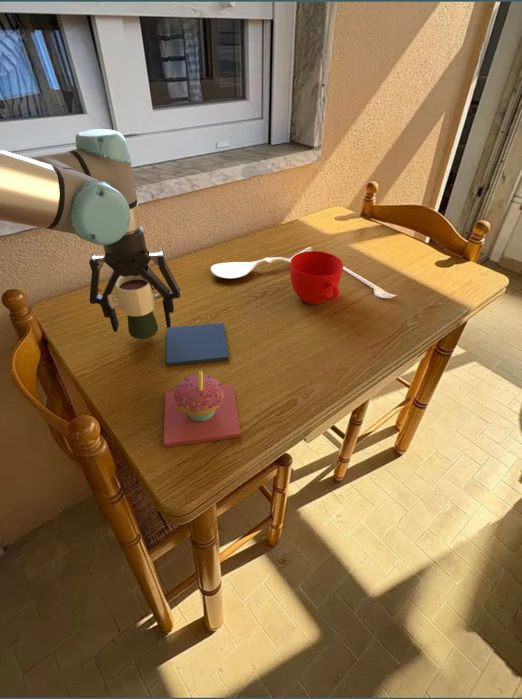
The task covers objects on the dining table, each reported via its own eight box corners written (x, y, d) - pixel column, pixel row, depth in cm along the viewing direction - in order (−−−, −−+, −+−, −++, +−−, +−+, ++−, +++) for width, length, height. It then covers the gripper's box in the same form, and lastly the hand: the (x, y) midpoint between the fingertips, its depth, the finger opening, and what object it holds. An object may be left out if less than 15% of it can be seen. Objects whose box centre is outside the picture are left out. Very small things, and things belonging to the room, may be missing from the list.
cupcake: (233, 414, 68) (231, 365, 61) (193, 439, 64) (185, 390, 56) (207, 387, 73) (202, 339, 66) (168, 408, 69) (157, 360, 61)
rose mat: (164, 447, 64) (163, 443, 63) (165, 394, 73) (165, 391, 72) (240, 437, 66) (240, 433, 65) (233, 387, 75) (232, 383, 74)
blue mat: (166, 366, 79) (165, 363, 78) (167, 331, 88) (167, 327, 87) (228, 360, 81) (228, 356, 80) (223, 326, 90) (223, 322, 89)
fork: (346, 267, 112) (347, 262, 110) (397, 300, 99) (399, 294, 98) (337, 270, 110) (338, 264, 109) (388, 304, 98) (390, 297, 96)
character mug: (164, 318, 89) (155, 268, 80) (172, 335, 84) (164, 284, 75) (116, 329, 85) (101, 278, 77) (122, 348, 80) (107, 296, 72)
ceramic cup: (308, 325, 90) (313, 289, 84) (279, 289, 102) (281, 255, 96) (355, 314, 94) (363, 278, 88) (322, 280, 106) (326, 247, 99)
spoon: (322, 269, 111) (324, 258, 109) (215, 286, 103) (214, 274, 101) (310, 255, 117) (311, 245, 115) (208, 270, 109) (207, 259, 107)
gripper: (185, 217, 73) (195, 312, 88) (58, 222, 70) (90, 320, 84) (185, 233, 68) (196, 332, 82) (48, 240, 64) (84, 341, 79)
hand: (142, 325), depth 83 cm, fingers closed on character mug, 10 cm apart
